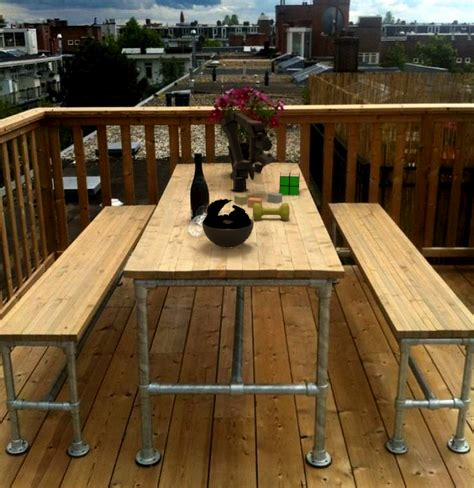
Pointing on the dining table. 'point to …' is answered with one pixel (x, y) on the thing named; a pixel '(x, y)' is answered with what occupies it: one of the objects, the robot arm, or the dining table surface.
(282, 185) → the puzzle cube
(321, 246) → the dining table surface
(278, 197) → the slate-blue brick
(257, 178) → the cream brick
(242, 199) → the olive brick
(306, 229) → the dining table surface
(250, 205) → the terracotta brick
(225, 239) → the black hollow round piece
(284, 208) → the dumbbell
